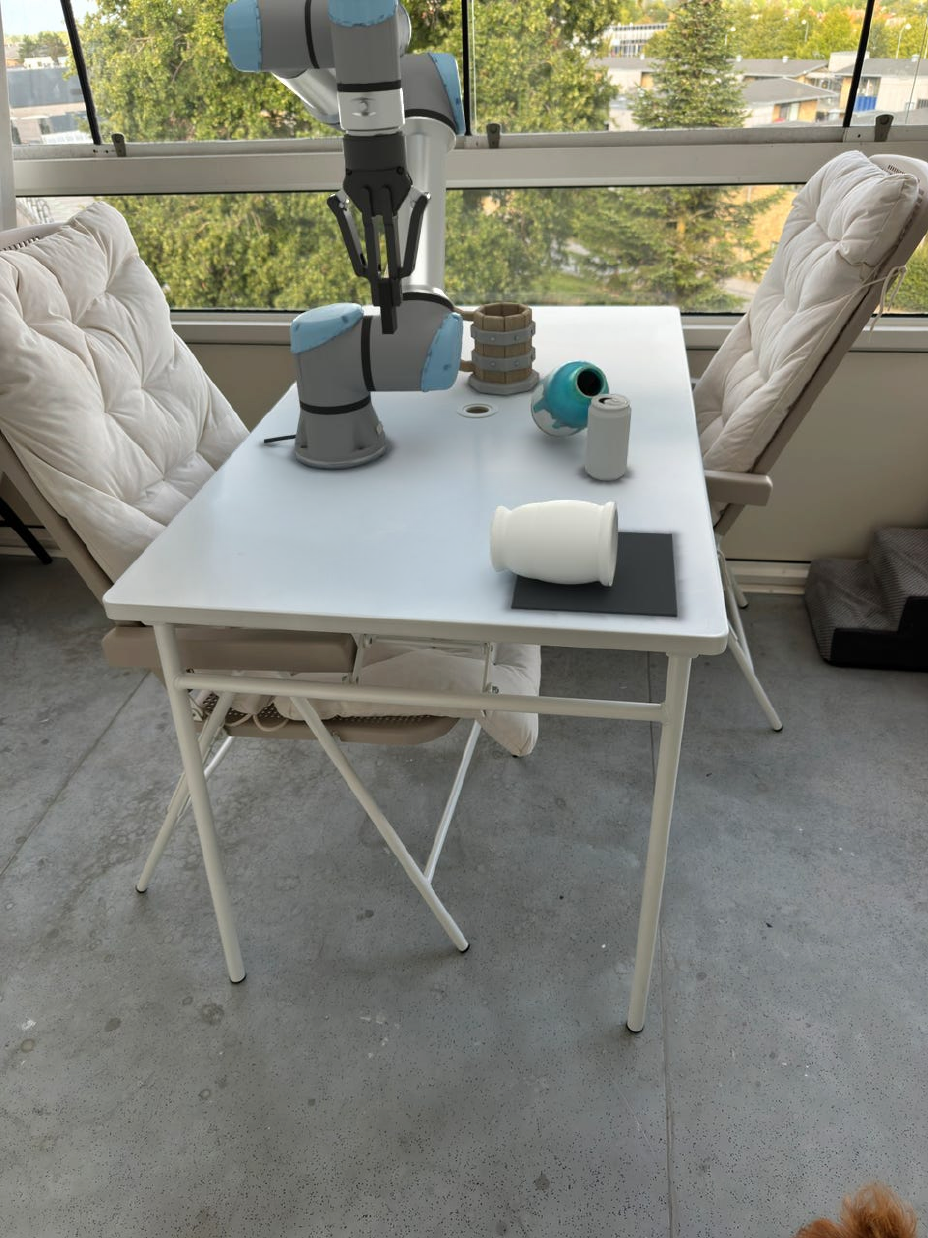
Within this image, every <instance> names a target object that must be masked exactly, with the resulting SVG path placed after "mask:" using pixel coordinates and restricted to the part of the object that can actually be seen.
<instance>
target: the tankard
mask: <svg viewBox="0 0 928 1238" xmlns="http://www.w3.org/2000/svg"><path fill="white" fill-rule="evenodd" d="M454 312H456V313H457V314H460V315H461V316H462V319H463V322H472V323H471V324H470V325H469V329H470V330H469V331H470V333H469V334H470V337H471V338H472V339H473V340H474V341H473V343H474V348H473V349H472V350H471V351H470V357H471V358H470V359H471V360H464V359H462V358H461V361H460V367H459V371H458V372H463V373H470V375H468V376H467V377H468V378H467V379H468V384H469V385H470V386H471V387H472V388H474V389H475V390H476V391H478V392H479V393H480V394H489V395H500V396H509V395H513V394H519V393H524V392H529V391H531V390H532V389H533V388H534V387H535V385H537V383H538V382H539V381H540V372H538V371H537V370H536V369H533V363H534V361H535V360H536V359H537V358H536V352H537V351H536V350H537V349H536V347H534V346H533V337H534V336H535V335H536V331H537V330H536V329H537V327H536V326H537V325H536V324H537V323H536V321H534V320H533V309H532V308H531V307H529V306H528V305H525V304H524V303H521V302H511V301H509V302H507V301H501V302H500V301H498V302H492V303H486V304H481V305H480V306H479V307H477V308H476V309H475V310H473V311H472V310H463V309H461V308H459V307H457V306H454Z"/></svg>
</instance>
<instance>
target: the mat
mask: <svg viewBox="0 0 928 1238" xmlns="http://www.w3.org/2000/svg"><path fill="white" fill-rule="evenodd" d="M673 546H674V545H673V533H659V532H634V531H633V532H631V531H618V544H617V557H616V566H615V572H614V577H613V582H612V585H611V586H605V585H603V584H602V583H601V581H594V582H590V583H583V584H558V583H551V582H546V581H542V580H539V579H532V578H528V577H524V576H521V575H518V574H516V579H515V580H516V581H515V585H514V590H513V596H512V601H511V607H510V609H516V610H537V611H555V612H574V613H575V612H577V613H595V614H596V613H597V614H598V613H599V614H614V615H615V614H617V615H634V616H636V615H637V616H654V617H655V616H656V617H678V609H677V608H678V607H677V593H676V577H675V562H674V547H673Z"/></svg>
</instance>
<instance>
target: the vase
mask: <svg viewBox="0 0 928 1238" xmlns="http://www.w3.org/2000/svg"><path fill="white" fill-rule="evenodd" d="M607 379H608V378H607V376H606V374H605V372H604V371H603V370H602V369H601V368H599V367H598V366H596V365H595V364H593V363H591V362H590V361H587V360H583V359H581V360H580V359H573V360H570V361H566V362H563V363H561V364H559V365H558V366H556V367H555V368H554V369H552V370H551V371H550V372H549V373H548V374H547V375H545V377H543V379H542V380H541V381H540V382H539V383H538V385H537V387H535V389H534V391H533V393H532V396H531V400H530V413H531V417H532V420H533V422H534V424H535V425H536V427H537V428H538V429H539V430H541V431H542V432H543V433H544V434H547V435H548V436H551V437H555V438H566V437H570V436H574V435H576V434H578V433H580V432H582V431H583V430H586V429H587V424H588V408H589V406H590V405H591V400H592V398H593V397H595V396H597V395H601V394H610V387H609V382H608V380H607Z"/></svg>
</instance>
